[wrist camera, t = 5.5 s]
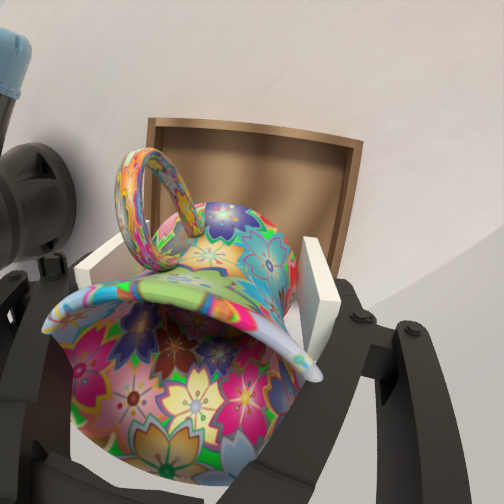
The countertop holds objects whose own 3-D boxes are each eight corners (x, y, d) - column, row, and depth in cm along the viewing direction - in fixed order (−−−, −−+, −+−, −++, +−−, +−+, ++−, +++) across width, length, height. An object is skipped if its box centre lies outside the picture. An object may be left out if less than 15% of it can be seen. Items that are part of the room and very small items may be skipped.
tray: (154, 259, 34) (144, 270, 31) (160, 118, 28) (148, 117, 25) (327, 283, 33) (331, 296, 31) (355, 140, 28) (363, 141, 25)
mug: (306, 331, 19) (323, 485, 9) (165, 337, 20) (107, 469, 10) (293, 129, 14) (337, 121, 5) (122, 155, 15) (-32, 201, 6)
